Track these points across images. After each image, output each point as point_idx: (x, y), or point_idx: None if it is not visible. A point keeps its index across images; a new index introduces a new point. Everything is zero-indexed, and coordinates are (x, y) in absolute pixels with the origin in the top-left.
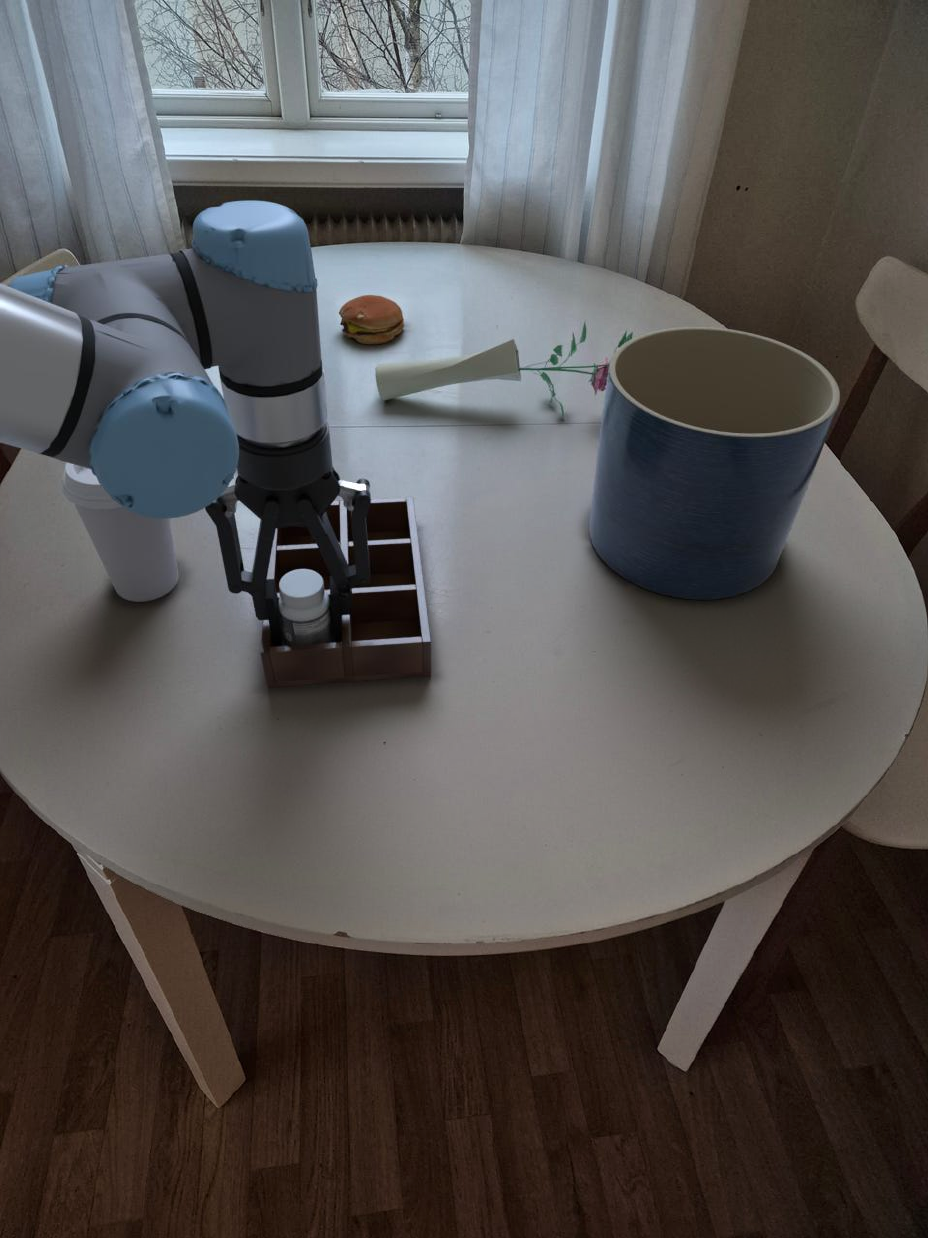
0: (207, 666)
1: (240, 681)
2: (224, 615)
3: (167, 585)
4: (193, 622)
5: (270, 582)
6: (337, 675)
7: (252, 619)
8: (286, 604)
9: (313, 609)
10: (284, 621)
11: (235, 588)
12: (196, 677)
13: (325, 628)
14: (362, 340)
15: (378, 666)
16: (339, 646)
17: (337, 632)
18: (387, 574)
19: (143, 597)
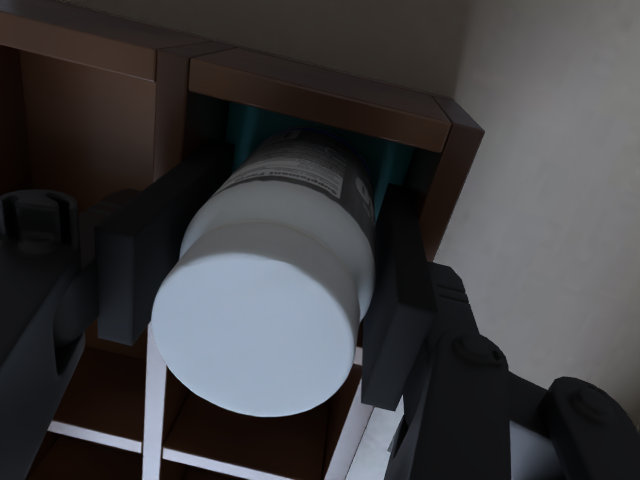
0: (573, 226)
1: (514, 147)
2: None
3: None
4: (547, 362)
5: (382, 391)
6: (254, 53)
7: None
8: (344, 266)
9: (240, 216)
10: (367, 225)
11: (598, 405)
12: (616, 199)
13: (235, 173)
14: None
15: (120, 23)
16: (198, 68)
17: (205, 158)
18: (102, 347)
19: None
